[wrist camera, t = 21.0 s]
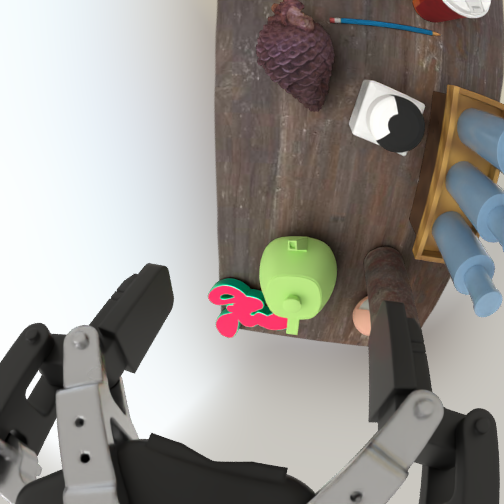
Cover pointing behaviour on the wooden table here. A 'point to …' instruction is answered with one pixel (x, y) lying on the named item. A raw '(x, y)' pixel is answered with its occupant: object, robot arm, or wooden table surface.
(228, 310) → the squiggly shape
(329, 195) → the wooden table surface
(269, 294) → the teapot
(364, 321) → the toy ball
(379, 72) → the wooden table surface
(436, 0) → the paper cup
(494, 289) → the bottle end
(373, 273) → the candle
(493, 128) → the bottle
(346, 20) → the pencil
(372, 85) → the container
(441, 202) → the tray
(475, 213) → the bottle mid
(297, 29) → the pine cone
